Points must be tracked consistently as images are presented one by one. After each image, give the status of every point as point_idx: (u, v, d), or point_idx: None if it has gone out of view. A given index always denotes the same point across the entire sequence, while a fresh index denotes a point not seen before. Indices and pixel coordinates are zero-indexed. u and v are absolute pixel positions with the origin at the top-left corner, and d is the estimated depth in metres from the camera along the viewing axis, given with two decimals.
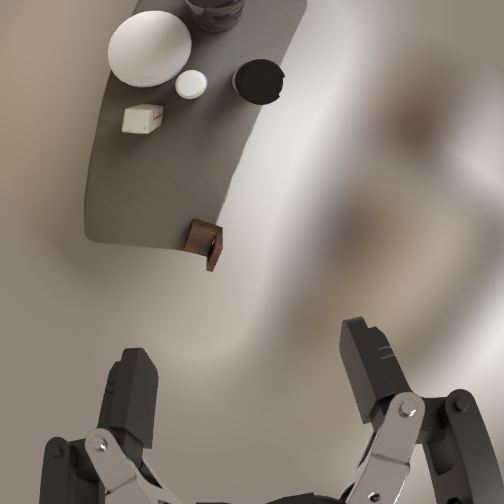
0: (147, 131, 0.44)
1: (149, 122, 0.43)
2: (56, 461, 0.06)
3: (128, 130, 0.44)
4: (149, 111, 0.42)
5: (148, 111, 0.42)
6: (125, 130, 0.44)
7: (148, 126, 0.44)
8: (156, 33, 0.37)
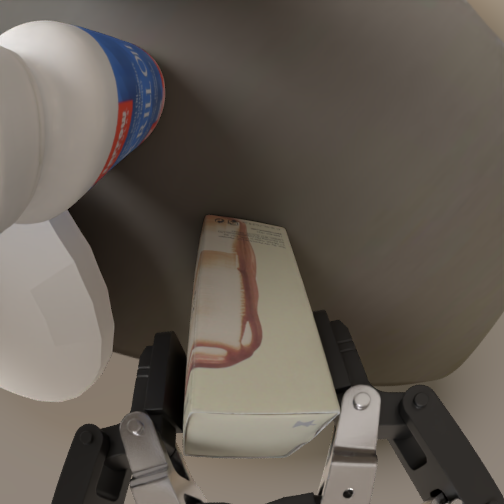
0: (326, 414, 0.07)
1: (272, 410, 0.07)
2: (85, 449, 0.06)
3: (290, 449, 0.09)
4: (195, 414, 0.06)
5: (195, 416, 0.07)
6: (286, 453, 0.09)
7: (297, 414, 0.07)
8: None
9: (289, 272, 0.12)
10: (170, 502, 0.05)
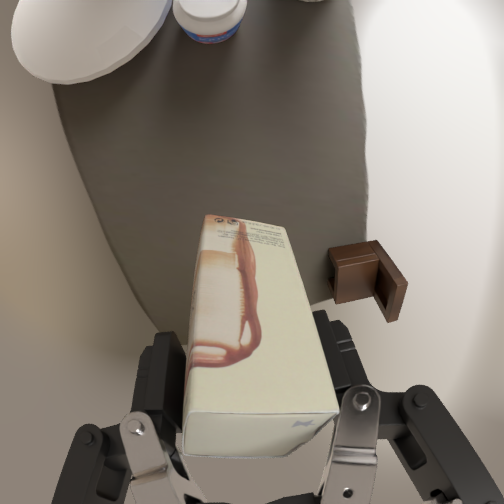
0: (325, 414, 0.07)
1: (270, 410, 0.07)
2: (85, 449, 0.06)
3: (289, 448, 0.09)
4: (194, 413, 0.06)
5: (194, 416, 0.07)
6: (285, 453, 0.09)
7: (296, 414, 0.07)
8: None
9: (288, 272, 0.12)
10: (170, 502, 0.05)
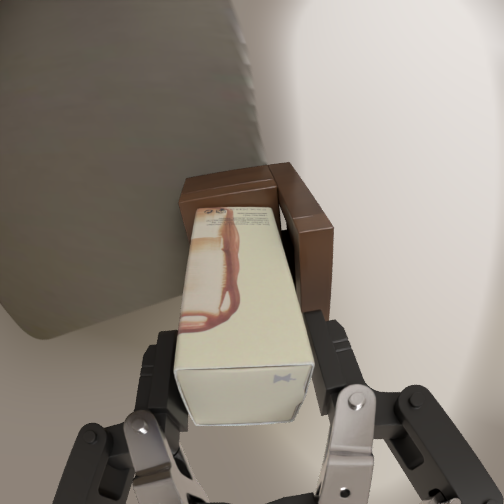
0: (300, 366, 0.08)
1: (245, 364, 0.08)
2: (89, 448, 0.06)
3: (290, 411, 0.10)
4: (179, 373, 0.08)
5: (181, 375, 0.08)
6: (289, 416, 0.10)
7: (270, 367, 0.08)
8: None
9: (271, 245, 0.13)
10: (173, 502, 0.05)
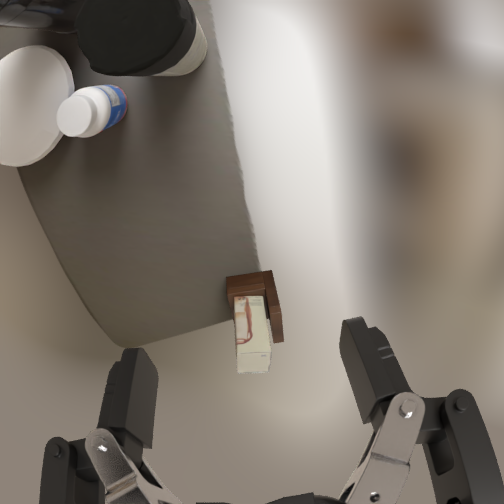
0: (267, 352, 0.34)
1: (254, 351, 0.34)
2: (56, 461, 0.06)
3: (267, 367, 0.36)
4: (238, 354, 0.34)
5: (238, 355, 0.34)
6: (267, 369, 0.36)
7: (260, 352, 0.34)
8: (8, 84, 0.19)
9: (261, 315, 0.39)
10: None
